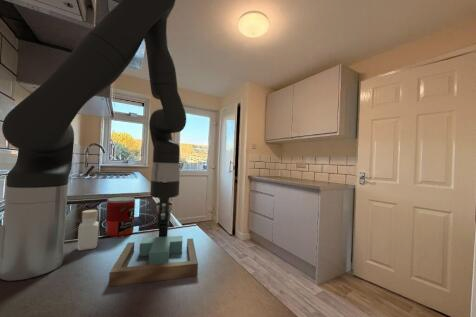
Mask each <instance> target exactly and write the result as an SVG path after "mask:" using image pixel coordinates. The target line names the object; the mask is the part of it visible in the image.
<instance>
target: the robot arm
mask: <svg viewBox="0 0 476 317" xmlns="http://www.w3.org/2000/svg"><path fill="white" fill-rule="evenodd" d="M175 4H176V0H120V2H119V3H118V4H117V5H116V6H115V7H114V8H113V9H111V11H109V12H108V13H107V14H106V15H105V16H104V17H103V18H102V19H101V20H100V21H99V22H98V23H96V25H95V26H94V27H93V28H92V29H91V30H89V32H87V34H86V35H85V36H84V37H83V38H82V39H81V41H80V42H78V44H76V46H75V48H73V50H72V51H71V52H70V53H69V54H68V56H67V57H66V58H65V59H64V60H63V61H62V62H61V63H60V65H59V66H57V68H56V69H55V70H54V72H53V73H52V74H51V75H50V76H49V77H48V78H47V79H46V80H45V81H44V82H43V83H41V85H40V86H38V87H37V88H36V89H35V90H34V91H32V92H31V93H30V94H29V95H28V96H26V97H25V98H24V99H23V100H22V101H19V103H18V104H17V105H16V106H14V107H13V108H12V109H11V110H10V111H9V112H8V113H7V114H6V116H5V117H4V119H3V122H2V124H1V125H2V127H1V130H2V135H3V137H4V140H6V142H7V143H8V144H9V145H11V146H13V147H15V148H17V149H18V151H17V159H16V162H15V164H14V166H13V167H12V168H11V169H10V170H9V171H8V173H7V174H6V180H5V181H6V182H5V197H4V212H3V224H1V225H0V280H3V281H11V282H12V281H22V280H26V279H32V278H35V277H39V276H42V275H45V274H47V273H50V272H52V271H54V270H56V269H58V268H59V267H61V265H62V264H63V263H64V254H65V252H64V249H65V236H66V221H67V220H66V219H67V217H66V216H67V203H68V189H69V188H68V187H69V176H70V174H71V171H72V168H73V157H74V146H75V132H74V128H73V125H72V122H73V121H74V120H75V118H76V116H77V115H78V113H79V112H80V111H81V109H83V107H84V105H85V104H87V103H88V101H90V100H91V99H93V98H94V97H95V96H97V95H98V94H99V93H100V94H101V92H103V91H104V90H106V89H107V88H109V87H110V86H111V85H112V84H113V83H114V82H116V80H117V79H119V77H121V75H122V74H123V73H124V72H125V70H126V69H127V67H128V66H129V65H130V63H131V62H132V60H133V59H134V58H135V56H136V54H137V52H138V50H139V49H140V47H141V46H142V43H143V41H144V44H145V50H146V51H145V52H146V59H147V60H146V61H147V69H148V76H149V77H148V78H149V86H150V92H151V96H152V97H153V98H154V99H155V100H159V101H160V103H161V107H162V108H159V109H156V110H154V111H153V112H152V114H150V118H149V123H148V124H149V125H148V126H149V134H150V138H151V142H152V146H153V149H152V150H153V151H152V166H151V171H150V173H151V174H150V191H149V192H150V195H149V196H150V197H152V198H156V199H159V201H158V202H157V203H156V204H155V205H156V206H155V207H156V208H155V210H156V221H157V229H158V237H168V229H169V225H170V223H169V222H170V221H171V212H172V210H173V209H172V207H173V202H172V201H170V198H176V197H179V195H180V177H181V172H180V171H181V170H180V156H181V155H180V154H181V151H180V145H179V144H178V143H177V142H174V141H173V137H172V134H177V133H179V132H181V131H183V130H184V129H185V128H186V123H187V114H186V110H185V108H184V105H183V102H182V99H181V97H180V94H179V91H178V80H177V79H178V78H177V72H176V67H175V63H174V59H173V55H172V54H171V49H170V47H169V44H168V36H167V34H168V33H167V27H168V26H167V25H168V24H167V23H168V19H169V16H170V15H171V13H172V11H173V9H174V7H175Z"/></svg>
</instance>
